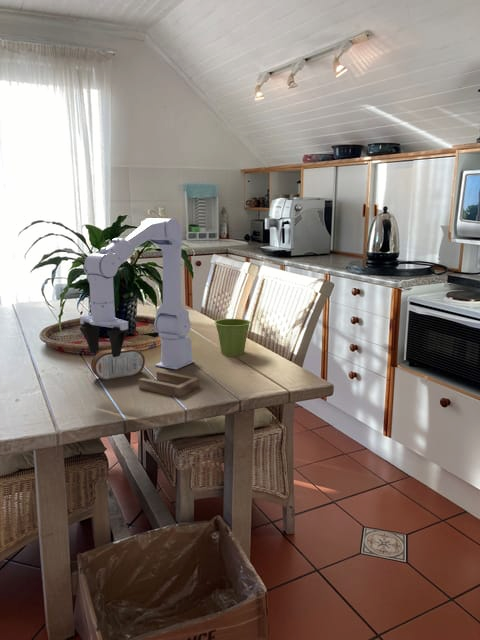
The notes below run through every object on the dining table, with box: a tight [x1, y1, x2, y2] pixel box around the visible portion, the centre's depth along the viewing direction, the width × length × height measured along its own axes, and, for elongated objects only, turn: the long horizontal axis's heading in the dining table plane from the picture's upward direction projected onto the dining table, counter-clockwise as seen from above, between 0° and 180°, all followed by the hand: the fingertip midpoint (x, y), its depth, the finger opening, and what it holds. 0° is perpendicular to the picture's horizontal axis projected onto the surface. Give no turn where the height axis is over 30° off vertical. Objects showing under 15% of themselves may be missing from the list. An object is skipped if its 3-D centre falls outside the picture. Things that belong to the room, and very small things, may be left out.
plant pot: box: [213, 318, 252, 357], centre depth 171 cm, size 12×12×11 cm
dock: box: [138, 370, 201, 398], centre depth 140 cm, size 9×14×2 cm, turn 60°
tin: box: [90, 346, 146, 381], centre depth 149 cm, size 15×3×8 cm, turn 120°
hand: (105, 354), depth 134 cm, fingers open, 7 cm apart
